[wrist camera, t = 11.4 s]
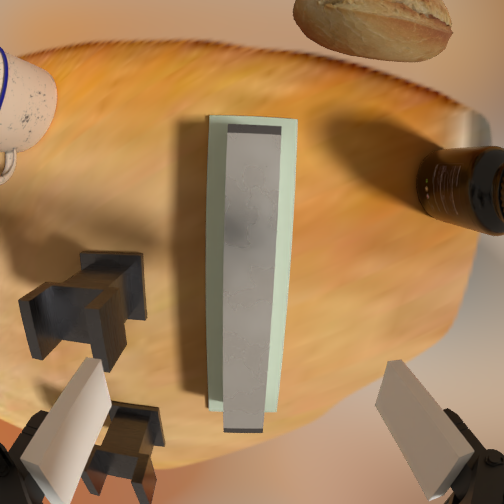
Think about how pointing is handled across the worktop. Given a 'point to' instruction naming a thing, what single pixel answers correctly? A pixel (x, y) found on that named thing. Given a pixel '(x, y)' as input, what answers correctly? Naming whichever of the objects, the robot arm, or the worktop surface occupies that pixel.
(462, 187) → the supplement bottle
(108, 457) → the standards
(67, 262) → the worktop surface
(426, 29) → the bread roll
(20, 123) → the teacup with lid
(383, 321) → the worktop surface
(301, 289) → the worktop surface
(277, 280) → the mat
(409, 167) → the worktop surface
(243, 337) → the rail
